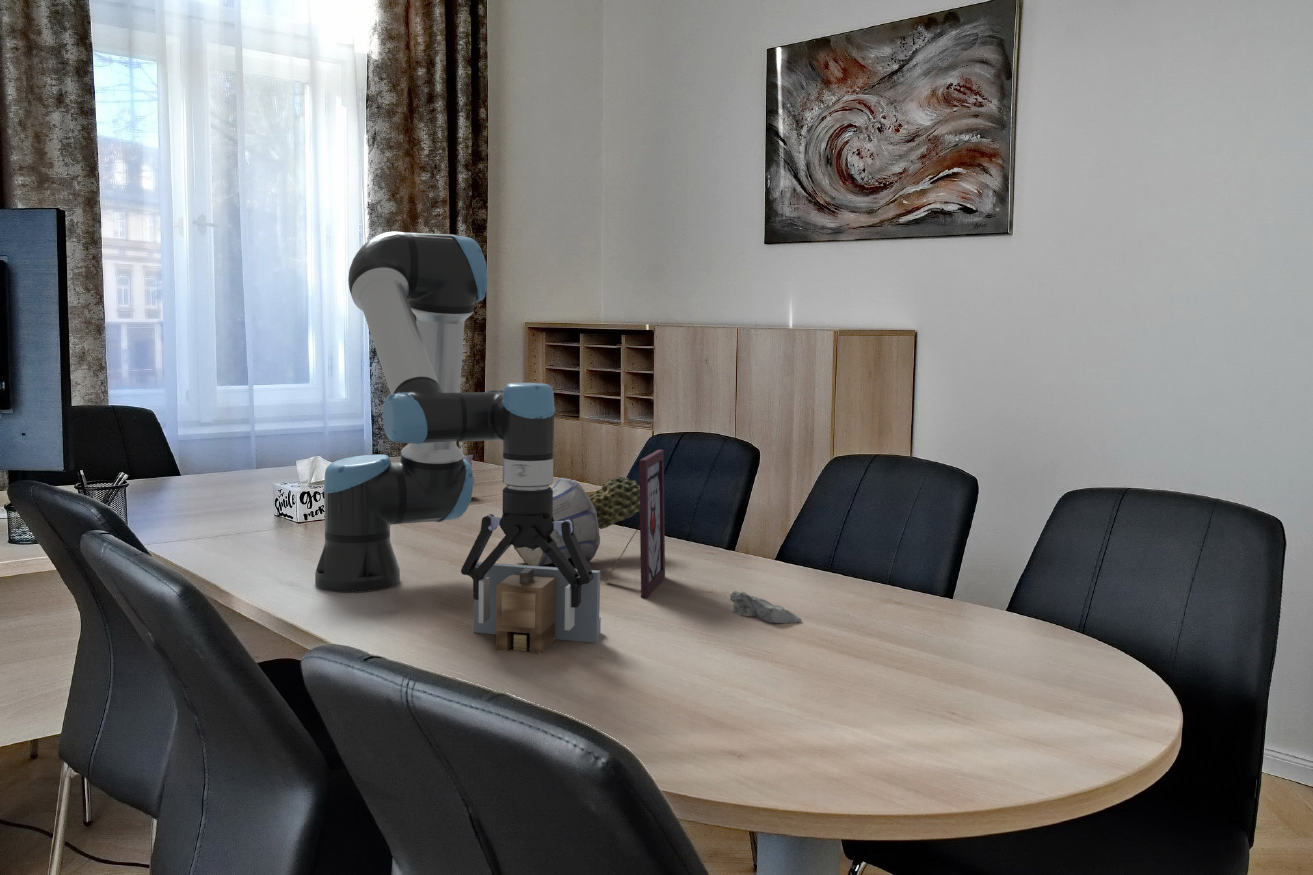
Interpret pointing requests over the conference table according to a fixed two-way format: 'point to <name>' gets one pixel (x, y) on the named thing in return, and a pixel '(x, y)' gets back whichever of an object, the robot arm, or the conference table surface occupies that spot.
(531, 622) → the cabinet block
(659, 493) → the picture frame
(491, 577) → the wall board
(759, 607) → the stone
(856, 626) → the conference table surface
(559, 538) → the potted plant
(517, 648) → the rail
